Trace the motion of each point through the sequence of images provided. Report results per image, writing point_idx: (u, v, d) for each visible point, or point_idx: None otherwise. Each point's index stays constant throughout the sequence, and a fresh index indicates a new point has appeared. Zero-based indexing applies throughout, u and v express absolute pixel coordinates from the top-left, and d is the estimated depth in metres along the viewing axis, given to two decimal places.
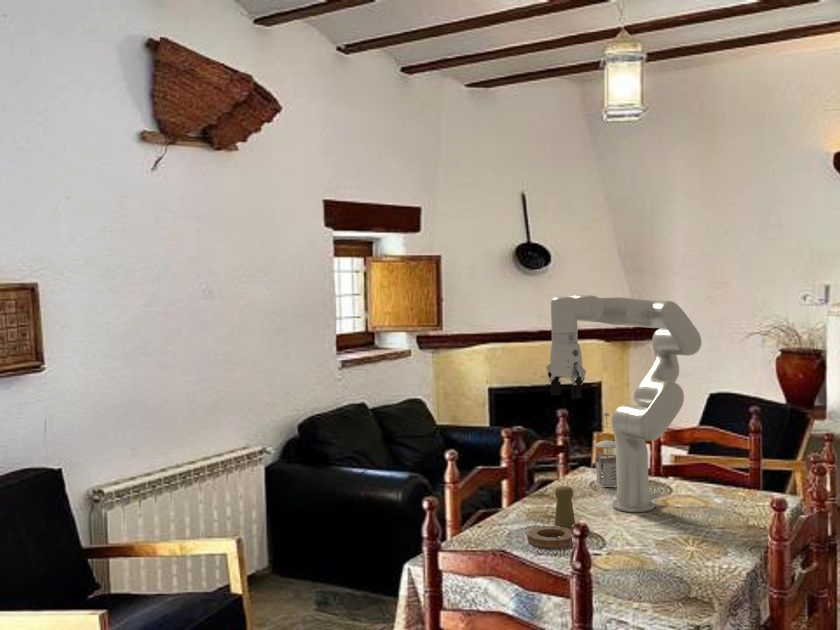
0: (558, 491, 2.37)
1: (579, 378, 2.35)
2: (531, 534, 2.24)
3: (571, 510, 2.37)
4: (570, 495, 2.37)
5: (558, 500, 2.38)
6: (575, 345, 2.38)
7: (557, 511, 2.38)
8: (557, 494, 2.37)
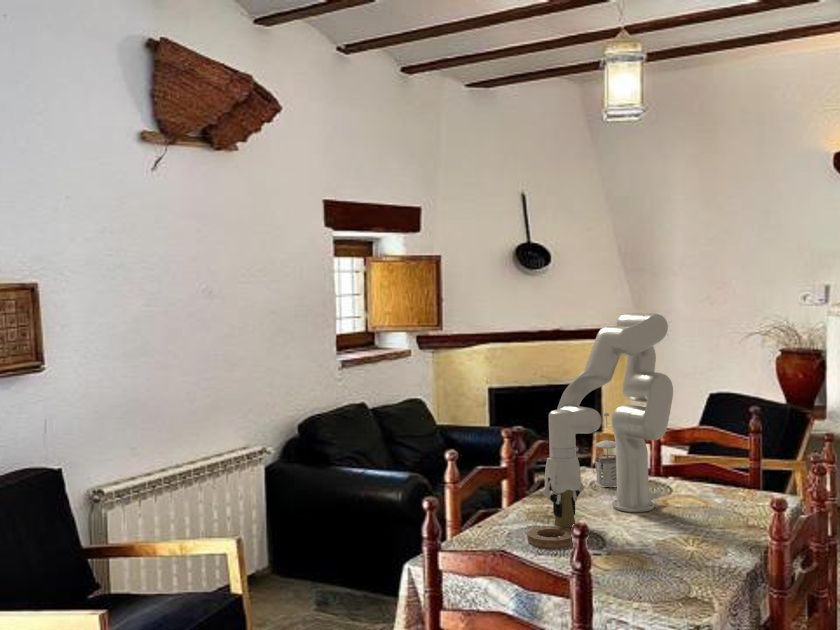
0: None
1: (579, 492, 2.40)
2: (531, 534, 2.24)
3: (571, 510, 2.37)
4: (570, 495, 2.37)
5: None
6: None
7: None
8: None
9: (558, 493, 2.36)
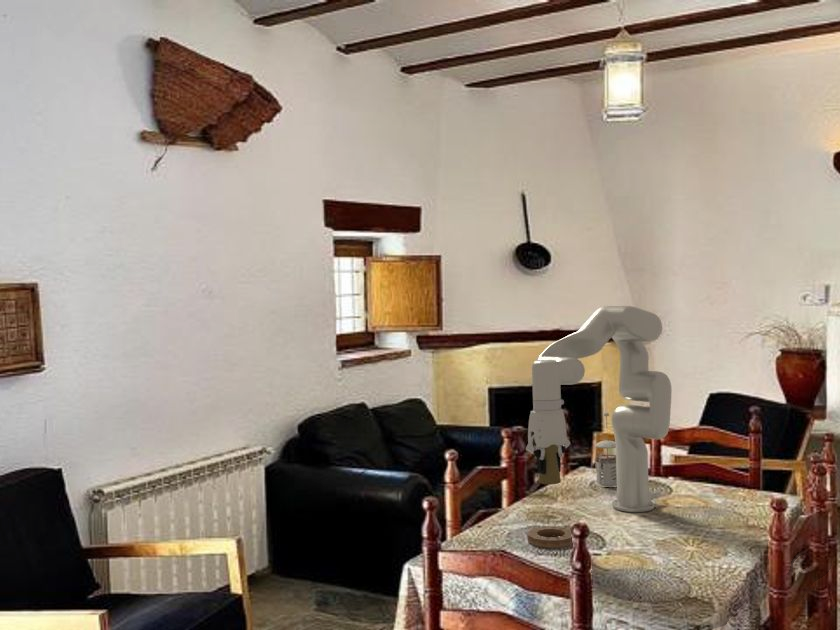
0: None
1: (564, 448, 2.25)
2: (531, 534, 2.24)
3: (556, 466, 2.22)
4: (555, 450, 2.22)
5: None
6: None
7: None
8: None
9: (542, 448, 2.21)
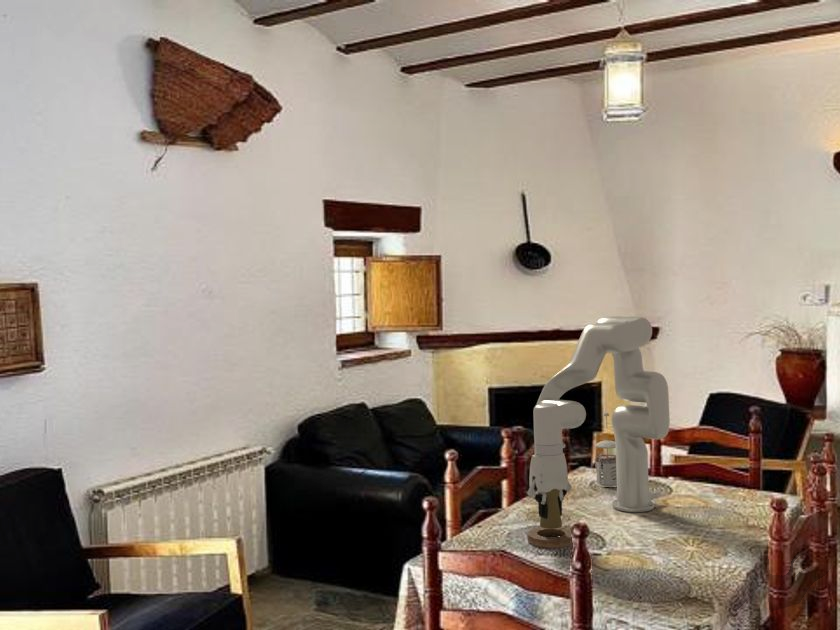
0: None
1: (566, 491, 2.26)
2: (531, 534, 2.24)
3: (557, 510, 2.23)
4: (556, 494, 2.22)
5: None
6: None
7: None
8: None
9: (543, 492, 2.21)
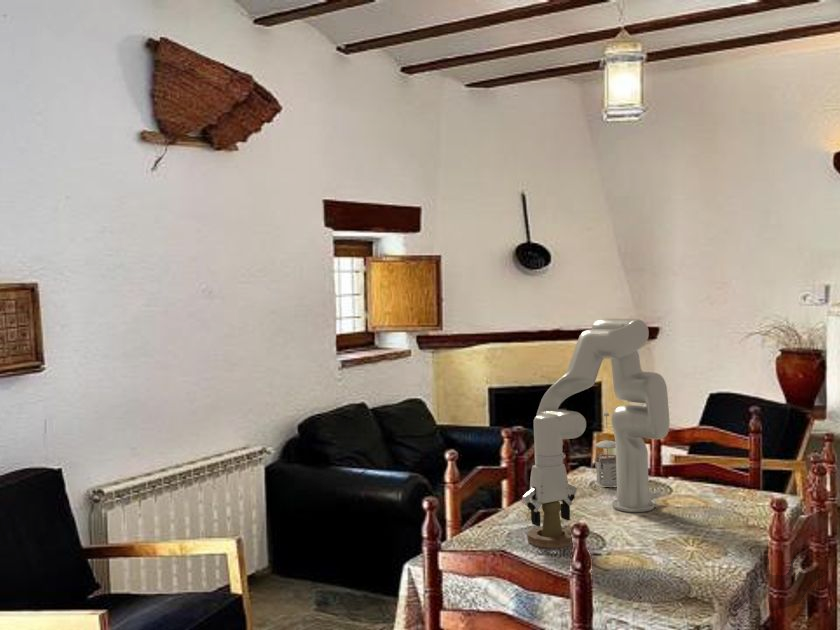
0: (545, 505, 2.23)
1: (573, 496, 2.27)
2: (531, 534, 2.24)
3: (559, 525, 2.23)
4: (558, 509, 2.23)
5: (545, 514, 2.24)
6: None
7: (544, 526, 2.24)
8: (544, 508, 2.23)
9: (544, 503, 2.22)
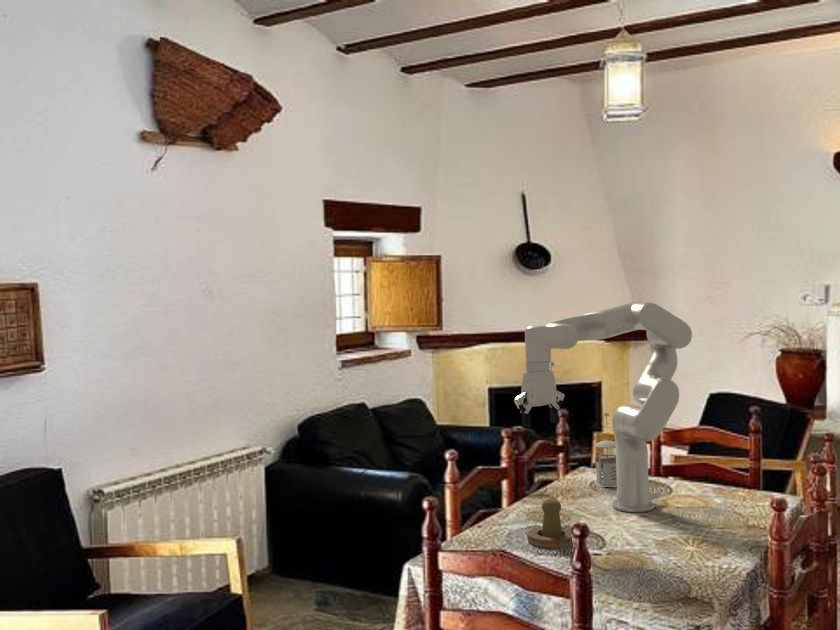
0: (545, 505, 2.23)
1: (561, 402, 2.47)
2: (531, 534, 2.24)
3: (559, 525, 2.23)
4: (558, 509, 2.23)
5: (545, 514, 2.24)
6: None
7: (544, 526, 2.24)
8: (544, 508, 2.23)
9: None
